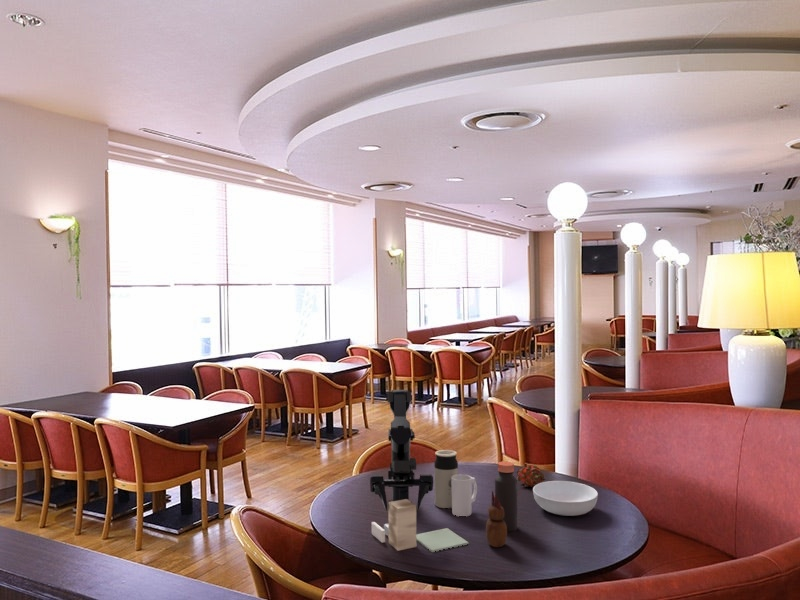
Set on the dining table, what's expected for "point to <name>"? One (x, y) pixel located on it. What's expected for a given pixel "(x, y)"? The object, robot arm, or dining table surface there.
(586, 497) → the serving bowl
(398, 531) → the block
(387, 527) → the bar
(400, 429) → the robot arm
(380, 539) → the channel
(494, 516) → the wooden figurine
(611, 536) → the dining table surface
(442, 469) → the travel mug
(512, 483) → the bottle
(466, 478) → the mug
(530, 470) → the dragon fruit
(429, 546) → the mat
